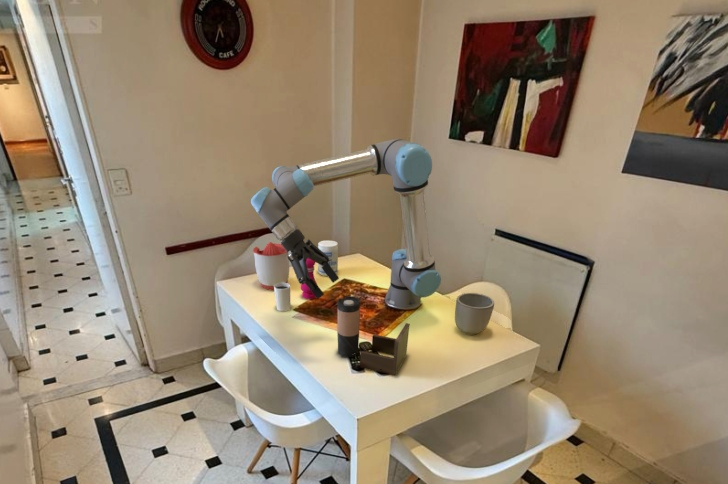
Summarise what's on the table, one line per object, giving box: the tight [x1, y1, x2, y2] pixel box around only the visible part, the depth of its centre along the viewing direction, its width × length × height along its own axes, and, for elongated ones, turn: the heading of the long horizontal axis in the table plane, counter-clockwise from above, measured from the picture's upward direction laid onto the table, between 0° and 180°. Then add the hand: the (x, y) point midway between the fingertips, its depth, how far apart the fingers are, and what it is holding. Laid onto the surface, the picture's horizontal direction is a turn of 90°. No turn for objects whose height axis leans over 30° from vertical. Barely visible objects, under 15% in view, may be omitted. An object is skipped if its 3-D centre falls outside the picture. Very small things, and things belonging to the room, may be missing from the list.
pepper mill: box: [300, 259, 318, 300], centre depth 197 cm, size 7×7×20 cm
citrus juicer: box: [252, 241, 290, 291], centre depth 207 cm, size 16×17×20 cm
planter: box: [454, 292, 495, 336], centre depth 175 cm, size 14×14×13 cm
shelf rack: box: [359, 322, 411, 376], centre depth 157 cm, size 14×13×13 cm
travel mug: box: [336, 296, 361, 358], centre depth 159 cm, size 8×8×20 cm
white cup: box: [273, 282, 292, 312], centre depth 190 cm, size 7×7×10 cm
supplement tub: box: [317, 239, 339, 277], centre depth 221 cm, size 10×10×15 cm
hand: (328, 288), depth 155 cm, fingers open, 13 cm apart
